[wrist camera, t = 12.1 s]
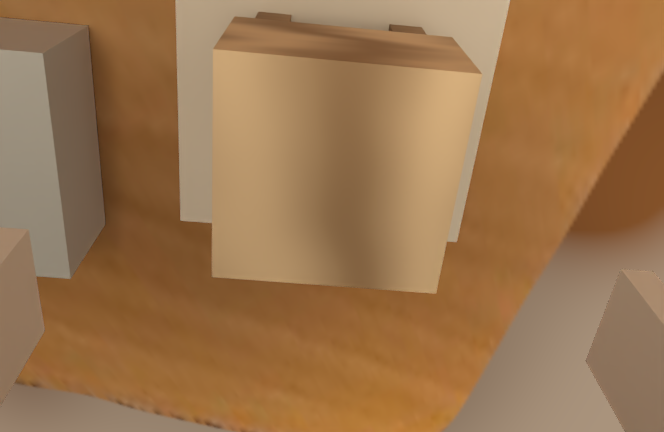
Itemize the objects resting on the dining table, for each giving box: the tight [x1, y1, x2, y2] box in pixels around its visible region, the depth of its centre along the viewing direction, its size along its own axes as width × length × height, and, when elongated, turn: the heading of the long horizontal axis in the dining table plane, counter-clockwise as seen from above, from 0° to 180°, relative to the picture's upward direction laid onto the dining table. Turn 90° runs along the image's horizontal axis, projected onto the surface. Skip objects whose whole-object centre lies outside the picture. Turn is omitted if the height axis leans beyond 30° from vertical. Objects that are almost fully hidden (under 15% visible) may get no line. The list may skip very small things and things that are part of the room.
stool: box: [212, 12, 482, 294], centre depth 24 cm, size 8×8×9 cm
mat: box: [176, 0, 510, 242], centre depth 29 cm, size 14×14×1 cm
